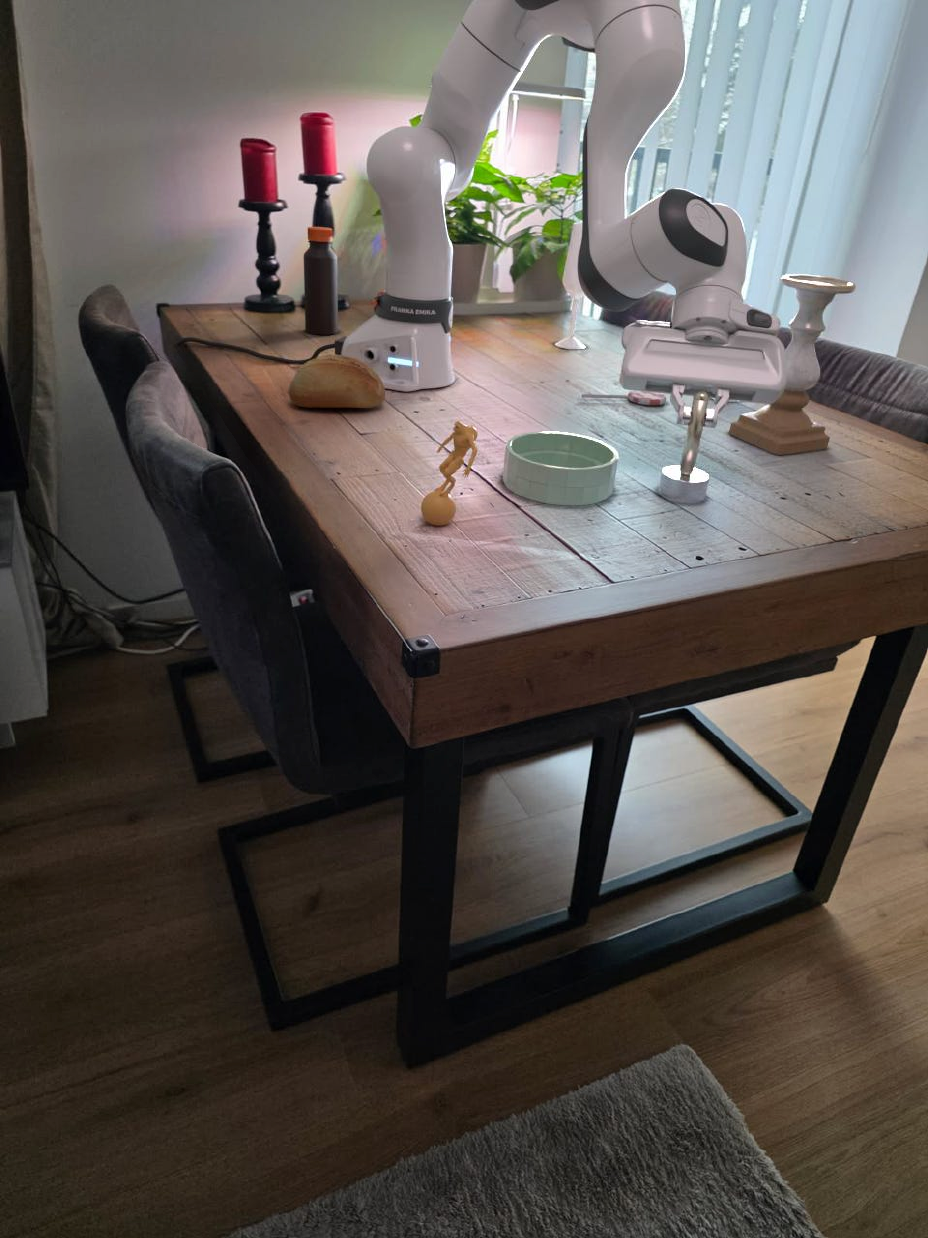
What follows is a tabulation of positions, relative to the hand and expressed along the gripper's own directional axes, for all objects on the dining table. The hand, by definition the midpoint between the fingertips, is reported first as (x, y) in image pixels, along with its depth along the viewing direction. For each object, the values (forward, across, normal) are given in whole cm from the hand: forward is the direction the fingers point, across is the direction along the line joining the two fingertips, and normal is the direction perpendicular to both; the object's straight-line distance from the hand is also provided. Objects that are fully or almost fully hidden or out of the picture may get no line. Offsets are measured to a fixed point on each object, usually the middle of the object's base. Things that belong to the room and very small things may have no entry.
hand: (696, 423), depth 105 cm
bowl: (+8, -16, +6) cm, 19 cm away
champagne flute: (-52, -18, +66) cm, 86 cm away
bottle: (-45, -70, +58) cm, 101 cm away
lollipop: (-24, -7, +38) cm, 45 cm away
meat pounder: (+6, 0, +7) cm, 10 cm away
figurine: (+19, -28, -5) cm, 34 cm away
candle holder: (-14, +17, +28) cm, 36 cm away
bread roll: (-8, -52, +22) cm, 57 cm away
